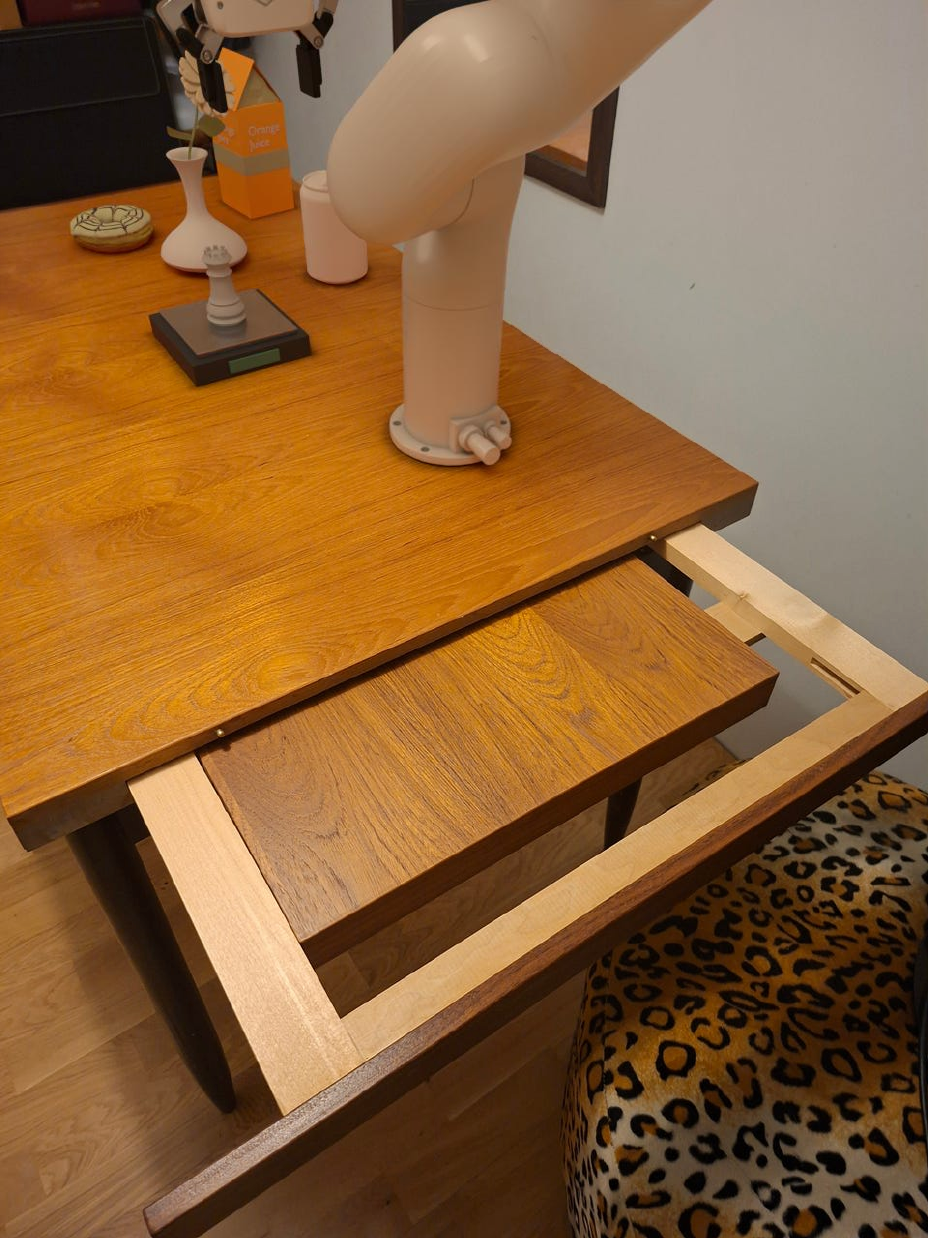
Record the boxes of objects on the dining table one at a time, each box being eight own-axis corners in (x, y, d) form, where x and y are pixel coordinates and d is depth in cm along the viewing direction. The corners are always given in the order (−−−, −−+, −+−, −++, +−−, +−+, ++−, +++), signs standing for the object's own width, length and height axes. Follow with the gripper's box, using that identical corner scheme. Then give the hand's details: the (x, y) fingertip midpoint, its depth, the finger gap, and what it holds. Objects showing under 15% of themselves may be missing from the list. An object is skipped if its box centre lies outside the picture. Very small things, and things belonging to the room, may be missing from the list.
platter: (297, 333, 100) (297, 327, 99) (198, 359, 95) (196, 354, 94) (254, 293, 107) (253, 287, 106) (159, 315, 102) (158, 310, 101)
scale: (312, 355, 101) (310, 335, 99) (197, 387, 95) (193, 367, 94) (261, 307, 109) (258, 288, 108) (152, 334, 104) (148, 314, 102)
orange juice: (265, 191, 138) (246, 43, 124) (295, 208, 133) (279, 56, 119) (221, 201, 134) (196, 50, 120) (250, 219, 129) (228, 64, 115)
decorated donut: (94, 224, 126) (86, 197, 124) (165, 229, 126) (160, 202, 123) (63, 253, 119) (54, 224, 116) (139, 258, 118) (132, 230, 116)
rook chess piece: (249, 310, 102) (239, 241, 96) (244, 328, 99) (232, 258, 93) (211, 309, 102) (198, 240, 96) (204, 327, 99) (190, 257, 93)
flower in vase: (187, 288, 113) (143, 65, 95) (148, 258, 119) (100, 44, 101) (275, 264, 119) (249, 50, 101) (234, 237, 125) (202, 31, 107)
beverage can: (372, 263, 120) (368, 170, 111) (362, 289, 114) (357, 193, 105) (315, 259, 120) (306, 166, 112) (301, 284, 114) (291, 188, 106)
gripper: (148, -127, 66) (195, 125, 78) (348, -134, 73) (363, 97, 85) (115, -133, 70) (164, 106, 82) (306, -139, 77) (326, 82, 89)
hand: (265, 102), depth 83 cm, fingers open, 9 cm apart
